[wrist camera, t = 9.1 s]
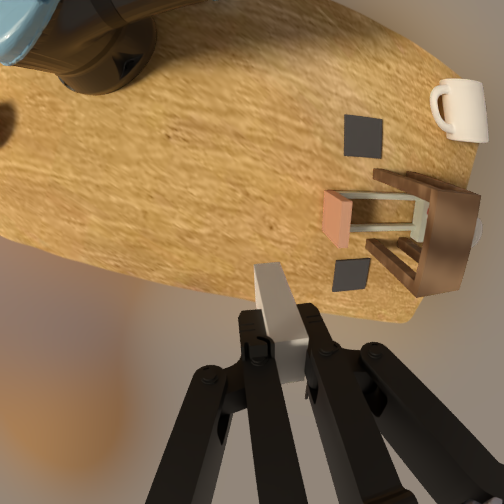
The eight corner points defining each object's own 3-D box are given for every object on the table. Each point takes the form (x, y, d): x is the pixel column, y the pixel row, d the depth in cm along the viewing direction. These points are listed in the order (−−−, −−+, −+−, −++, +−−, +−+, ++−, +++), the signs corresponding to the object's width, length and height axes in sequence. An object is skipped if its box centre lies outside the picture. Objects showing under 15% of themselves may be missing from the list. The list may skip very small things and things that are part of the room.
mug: (460, 84, 33) (490, 84, 26) (466, 137, 37) (497, 143, 30) (412, 78, 33) (443, 73, 26) (420, 138, 37) (452, 143, 30)
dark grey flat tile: (335, 260, 44) (336, 261, 43) (368, 258, 44) (369, 259, 44) (332, 290, 46) (332, 292, 46) (363, 287, 47) (364, 288, 46)
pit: (344, 114, 35) (345, 114, 35) (380, 119, 35) (382, 119, 35) (343, 155, 37) (344, 155, 37) (379, 158, 38) (380, 158, 37)
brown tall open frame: (373, 168, 38) (438, 191, 24) (414, 172, 39) (481, 195, 25) (365, 248, 44) (416, 297, 30) (404, 246, 44) (458, 289, 30)
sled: (324, 179, 38) (342, 189, 32) (454, 188, 40) (478, 197, 34) (321, 240, 42) (336, 259, 36) (446, 235, 44) (468, 249, 38)
